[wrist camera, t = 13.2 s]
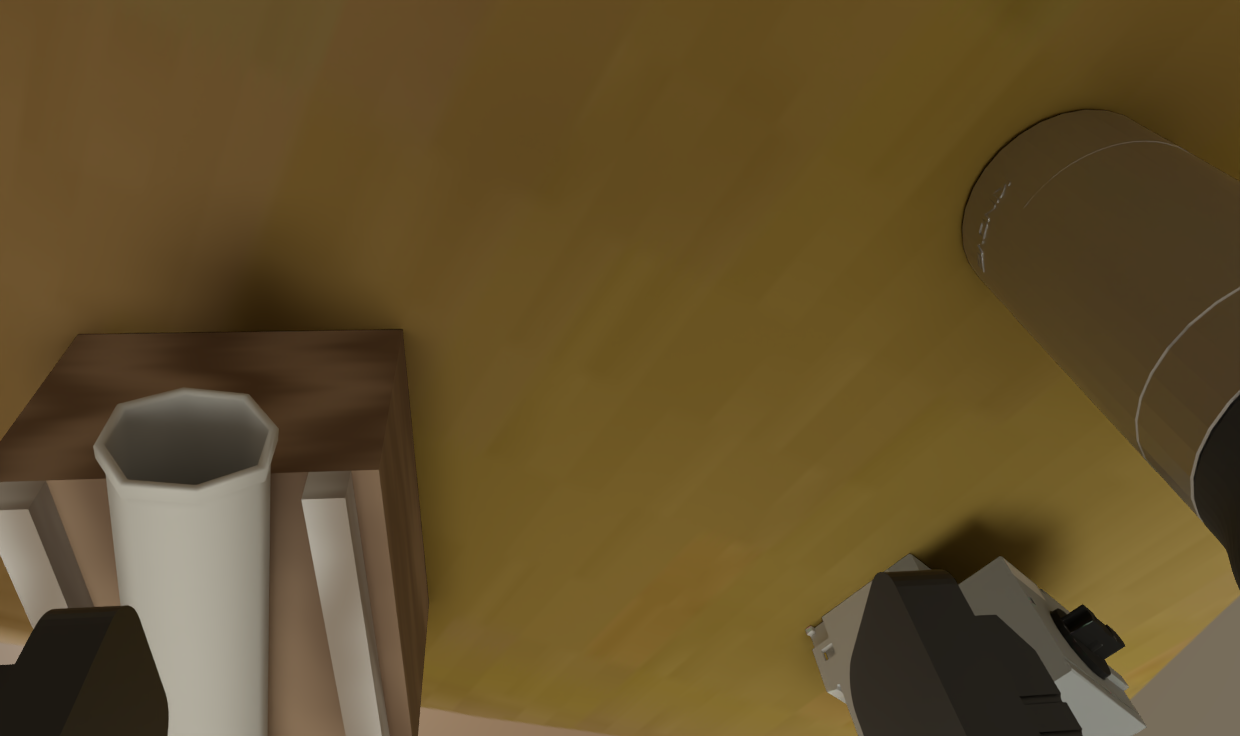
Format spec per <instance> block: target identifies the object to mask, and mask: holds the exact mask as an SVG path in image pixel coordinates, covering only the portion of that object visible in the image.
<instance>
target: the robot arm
mask: <svg viewBox="0 0 1240 736" xmlns="http://www.w3.org/2000/svg"><path fill="white" fill-rule="evenodd" d="M962 233H963V247H964V250H965V253H966V256H967V259H968V262H969V264H970V265H971V267H972V268H973V270H974V271H975V272H976V274H977V275H978V277H979V278H980V279H981V280H982V281H983V282H984V283H985V284H986V285H987V287H988V288H989V289H990V290H991V291H992V292H993V293H994V294H995V295H996V296H997V298H998V299H999V300H1000V301H1001V302H1002V303H1003V304H1004V305H1005V306H1006V307H1007V309H1008V310H1009V311H1010V312H1011V313H1012V314H1013V315H1014V317H1015V318H1016V319H1017V320H1018V321H1019V322H1020V323H1021V324H1022V326H1023V327H1024V328H1025V329H1026V330H1027V331H1028V332H1029V333H1030V334H1031V335H1032V336H1033V338H1034V339H1035V340H1036V341H1037V342H1038V343H1039V344H1040V345H1041V346H1042V347H1043V348H1044V350H1045V351H1046V352H1047V353H1048V354H1049V355H1050V356H1051V357H1052V358H1053V359H1054V360H1055V362H1056V363H1057V364H1058V365H1059V366H1060V367H1061V368H1062V369H1063V370H1064V371H1065V372H1066V374H1067V375H1068V376H1069V377H1070V378H1071V379H1072V380H1073V381H1074V382H1075V383H1076V384H1077V386H1078V387H1079V388H1080V389H1081V390H1082V391H1083V392H1084V393H1085V394H1086V395H1087V396H1088V398H1089V399H1090V400H1091V401H1092V402H1093V403H1094V404H1095V405H1096V406H1097V407H1098V408H1099V410H1100V411H1101V412H1102V413H1103V414H1104V415H1105V416H1106V417H1107V418H1108V419H1109V420H1110V422H1111V423H1112V424H1113V425H1114V426H1115V427H1116V428H1117V429H1118V430H1119V431H1120V432H1121V434H1122V435H1123V436H1124V437H1125V438H1126V439H1127V440H1128V441H1129V442H1130V443H1131V444H1132V446H1133V447H1134V448H1135V449H1136V450H1137V451H1138V452H1139V453H1140V454H1141V455H1142V456H1143V458H1144V459H1145V460H1146V461H1147V462H1148V463H1149V464H1150V465H1151V466H1152V467H1153V468H1154V470H1155V471H1156V472H1158V473H1159V474H1160V476H1161V477H1162V478H1163V479H1164V480H1165V481H1166V482H1167V483H1168V484H1169V485H1170V487H1171V488H1172V489H1173V490H1174V491H1175V492H1176V493H1177V494H1178V495H1179V496H1180V498H1181V499H1182V500H1183V501H1184V502H1185V503H1186V504H1187V505H1188V506H1189V507H1190V508H1191V510H1192V511H1193V512H1194V513H1195V514H1196V515H1197V516H1198V517H1199V518H1200V519H1201V521H1202V522H1203V523H1204V524H1205V525H1206V527H1207V528H1208V529H1209V530H1210V531H1211V532H1212V533H1213V535H1214V536H1215V537H1216V538H1217V539H1218V540H1219V541H1220V543H1221V544H1222V545H1223V546H1224V547H1225V549H1226V551H1227V553H1228V557H1229V560H1230V564H1231V568H1232V572H1233V574H1234V577H1235V580H1236V582H1237V585H1238V587H1239V590H1240V182H1239V181H1238V180H1236V179H1234V178H1233V177H1231V176H1229V175H1227V174H1226V173H1224V172H1222V171H1221V170H1219V169H1217V168H1215V167H1214V166H1212V165H1210V164H1209V163H1207V162H1205V161H1203V160H1202V159H1200V158H1198V157H1196V156H1195V155H1193V154H1191V153H1190V152H1188V151H1186V150H1184V149H1183V148H1181V147H1179V146H1178V145H1175V144H1173V143H1171V142H1170V141H1168V140H1166V139H1164V138H1163V137H1161V136H1159V135H1157V134H1156V133H1154V132H1152V131H1150V130H1149V129H1147V128H1145V127H1143V126H1142V125H1140V124H1138V123H1136V122H1135V121H1133V120H1131V119H1129V118H1128V117H1126V116H1124V115H1121V114H1117V113H1114V112H1110V111H1106V110H1080V111H1075V112H1070V113H1064V114H1061V115H1058V116H1056V117H1053V118H1050V119H1048V120H1045V121H1043V122H1040V123H1038V124H1037V125H1035V126H1033V127H1032V128H1030V129H1028V130H1027V131H1025V132H1023V133H1022V134H1020V135H1019V136H1017V137H1016V138H1015V139H1014V140H1013V141H1012V142H1010V143H1009V144H1008V145H1007V146H1006V147H1004V148H1003V149H1002V150H1001V151H1000V152H999V153H998V154H997V155H996V157H995V158H994V159H993V160H992V161H991V162H990V164H989V165H988V166H987V167H986V168H985V170H984V171H983V173H982V175H981V176H980V178H979V180H978V181H977V183H976V185H975V186H974V188H973V190H972V193H971V195H970V198H969V201H968V203H967V206H966V209H965V214H964V220H963V227H962ZM850 689H851V696H852V701H853V706H854V709H855V713H856V716H857V719H858V722H859V724H860V727H861V730H862V732H863V735H864V736H1083V735H1082V728H1081V726H1080V724H1079V723H1078V721H1077V719H1076V718H1075V716H1074V714H1073V713H1072V711H1071V709H1070V708H1069V706H1068V704H1067V702H1062V700H1061V692H1060V691H1059V689H1058V687H1057V686H1056V684H1055V682H1054V681H1053V679H1052V677H1051V676H1050V674H1049V672H1048V671H1047V669H1046V667H1045V666H1044V664H1043V662H1042V661H1041V659H1040V657H1039V655H1038V654H1037V652H1036V650H1034V649H1033V648H1032V647H1031V646H1030V645H1029V644H1028V643H1027V642H1026V641H1025V640H1023V639H1022V638H1021V637H1020V636H1019V635H1018V634H1017V633H1016V632H1015V631H1014V630H1013V629H1011V628H1010V627H1009V626H1008V625H1007V624H1006V623H1005V622H1004V621H1003V620H1002V619H1000V618H999V617H998V616H997V615H977V616H975V615H974V613H973V611H972V609H971V607H970V606H969V604H968V602H967V600H966V598H965V597H964V595H963V593H962V591H961V589H960V587H959V586H958V584H957V582H956V581H955V579H954V578H953V576H952V575H951V574H950V573H949V572H947V571H945V570H943V569H937V570H916V571H895V572H880V573H877V575H876V576H875V577H874V579H873V581H872V584H871V587H870V591H869V594H868V598H867V602H866V605H865V609H864V612H863V616H862V620H861V623H860V627H859V631H858V634H857V638H856V642H855V645H854V649H853V652H852V656H851V661H850ZM168 726H169V710H168V701H167V697H166V693H165V690H164V687H163V684H162V681H161V678H160V676H159V673H158V670H157V667H156V664H155V661H154V658H153V655H152V653H151V650H150V647H149V644H148V641H147V638H146V635H145V632H144V630H143V627H142V624H141V621H140V618H139V616H138V613H137V612H136V610H135V609H134V608H133V607H132V606H129V605H124V606H103V607H82V608H61V609H51V610H49V611H47V612H46V613H45V614H44V615H43V616H42V617H41V618H40V619H39V621H38V622H37V624H36V626H35V627H34V629H33V631H32V633H31V635H30V637H29V639H28V640H27V642H26V644H25V646H24V648H23V650H22V652H21V654H20V655H19V658H18V659H17V661H16V663H15V664H12V665H0V736H168Z"/></svg>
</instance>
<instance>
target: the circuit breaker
mask: <svg viewBox="0 0 1240 736" xmlns="http://www.w3.org/2000/svg"><path fill="white" fill-rule="evenodd" d="M916 570H931V569H930V568H929V567H927V566H926V565H925V564H923V563H922V562H921V561H919V560H918V559H917V558H915V557H914V556H913V555H912V554H908V555H907V556H905V557H904V558H902V559H901V560H900V561H898V562H897V563H896V564H894V565H893V566H891V567H890V568H889V570H888V569H887V570H886V571H885V572H895V571H916ZM872 581H873V580H872ZM872 581H871V582H869V583H868V584H867V585H865V586H864V587H863V588H861V589H860V590H859V591H857V592H856V593H854V594H853V595H852V596H850V597H849V598H848V599H846V600H845V601H843V602H842V603H841V604H839V605H838V606H837V607H835V608H834V609H832V610H831V611H830V612H828V613H827V614H826V615H824V616H823V617H822V620H823V622H822V623H821V624H819V625H818V626H817V627H815V628H814V627H812V626H809V627H808V628H806V629H805V630H806V633H807V635H809V636H810V637H811V639H812V641H813V644H814V647H815V648H814V649H812V650H813V653H814V656H815V659H816V662H817V665H818V667H819V670H820V673H821V676H822V679H823V682H824V685H825V687H826V690H827V692H828V693H830V694H831V695H833V696H834V697H836V698H838V699H839V700H841V701H843V702H844V703H846V704H847V706H848V709H849V711H850V714H851V717H852V720H853V722H854V725H855V728H856V731H857V733H858V736H864V735H863V732H862V730H861V727H860V724H859V722H858V719H857V716H856V713H855V709H854V706H853V701H852V696H851V689H850V661H851V656H852V652H853V649H854V645H855V642H856V638H857V634H858V631H859V627H860V623H861V620H862V616H863V612H864V609H865V605H866V602H867V598H868V594H869V591H870V587H871V584H872ZM958 586H959V587H960V589H961V591H962V593H963V595H964V597H965V598H966V600H967V602H968V604H969V606H970V607H971V609H972V611H973V613H974V615H975V616H977V615H997V616H998V617H999V618H1000V619H1002V620H1003V621H1004V622H1005V623H1006V624H1007V625H1008V626H1009V627H1010V628H1011V629H1013V630H1014V631H1015V632H1016V633H1017V634H1018V635H1019V636H1020V637H1021V638H1022V639H1023V640H1025V641H1026V642H1027V643H1028V644H1029V645H1030V646H1031V647H1032V648H1033V649H1034V650H1036V652H1037V654H1038V655H1039V657H1040V659H1041V661H1042V662H1043V664H1044V666H1045V667H1046V669H1047V671H1048V672H1049V674H1050V676H1051V677H1052V679H1053V681H1054V682H1055V684H1056V686H1057V687H1058V689H1059V691H1060V692H1061V700H1062V702H1067V704H1068V706H1069V708H1070V709H1071V711H1072V713H1073V714H1074V716H1075V718H1076V719H1077V721H1078V723H1079V724H1080V726H1081V728H1082V735H1083V736H1133V735H1134V734H1136V733H1138V732H1139V731H1141V730H1142V729H1144V728H1146V725H1145V723H1144V722H1143V720H1142V718H1141V716H1140V715H1139V713H1138V712H1137V710H1136V709H1135V707H1134V706H1133V705H1132V703H1131V701H1130V700H1129V698H1128V697H1127V695H1126V694H1125V692H1124V690H1126V689H1127V688H1129V687H1128V685H1127V684H1126V682H1125V681H1124V679H1123V678H1122V676H1121V675H1119V674H1118V673H1117V672H1116V671H1114V670H1113V669H1112V668H1111V667H1109V666H1108V665H1107V663H1106V661H1105V660H1104V659H1106V658H1107V657H1109V656H1110V655H1112V654H1114V653H1115V652H1117V651H1118V650H1120V649H1122V648H1123V647H1125V644H1124V643H1123V641H1122V640H1121V638H1120V637H1119V636H1118V635H1117V634H1116V632H1115V631H1114V630H1113V629H1111V628H1110V627H1109V626H1108V625H1104V624H1103V623H1102V622H1101V621H1100V620H1098V619H1097V618H1096V617H1095V615H1094V614H1093V613H1092V612H1091V611H1090V610H1089V609H1088V608H1086V607H1085V606H1084V605H1081V606H1079V607H1078V608H1076V609H1075V610H1073V611H1072V612H1069V611H1068V610H1066V609H1065V608H1064V607H1063V606H1062V605H1060V604H1059V603H1058V602H1057V601H1055V600H1054V599H1053V598H1052V597H1051V596H1049V595H1048V594H1047V593H1046V592H1044V591H1043V590H1042V589H1039V588H1038V587H1037V585H1036V584H1035V583H1034V582H1032V581H1031V580H1030V579H1029V578H1028V577H1026V576H1025V575H1024V574H1023V573H1021V572H1020V571H1019V570H1018V569H1017V568H1015V567H1014V566H1013V565H1012V564H1010V563H1009V562H1008V561H1007V560H1006V559H1004V558H1003V557H1001V556H999V557H998V558H997V559H995V560H994V561H992V562H991V563H989V564H988V565H986V566H985V567H983V568H982V569H980V570H979V571H978V572H976V573H975V574H973V575H972V576H970V577H969V578H967V579H966V580H964V581H963V582H962V583H960V584H959V585H958ZM825 652H826V654H827V656H828V660H827V661H826V658H825V655H824V653H825Z"/></svg>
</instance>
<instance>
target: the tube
mask: <svg viewBox="0 0 1240 736" xmlns="http://www.w3.org/2000/svg"><path fill="white" fill-rule="evenodd" d="M278 434H279V428H278V427H277V426H276V425H275V424H274V423H273V421H272V420H271V419H270V418H269V417H268V416H267V414H266V413H265V412H264V411H263V410H262V409H261V408H260V406H259V405H258V404H257V403H256V402H255V401H254V399H253V398H252V397H251V396H250V395H249V394H244V393H234V392H224V391H215V390H205V389H195V388H185V387H183V388H179V389H175V390H171V391H167V392H163V393H159V394H155V395H151V396H147V397H143V398H140V399H136V400H132V401H128V402H124V403H120V404H117V405H116V407H115V409H114V410H113V412H112V414H111V416H110V418H109V419H108V421H107V423H106V425H105V426H104V428H103V430H102V432H101V433H100V435H99V437H98V439H97V440H96V442H95V444H94V446H93V448H94V454H95V458H96V460H97V462H98V463H99V465H100V466H101V468H102V469H103V471H104V472H105V474H106V482H107V491H108V500H109V509H110V517H111V526H112V535H113V544H114V553H115V562H116V570H117V579H118V588H119V597H120V606H124V605H129V606H132V607H133V608H134V609H135V610H136V612H137V613H138V616H139V618H140V621H141V624H142V627H143V630H144V632H145V635H146V638H147V641H148V644H149V647H150V650H151V653H152V655H153V658H154V661H155V664H156V667H157V670H158V673H159V676H160V678H161V681H162V684H163V687H164V690H165V693H166V697H167V701H168V710H169V726H168V736H268V649H269V561H270V474H271V461H272V458H273V455H274V452H275V448H276V445H277V442H278Z"/></svg>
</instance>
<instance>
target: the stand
mask: <svg viewBox="0 0 1240 736" xmlns="http://www.w3.org/2000/svg"><path fill="white" fill-rule="evenodd" d="M183 387H185V388H195V389H205V390H215V391H224V392H234V393H244V394H249V395H250V396H251V397H252V398H253V399H254V401H255V402H256V403H257V404H258V405H259V406H260V408H261V409H262V410H263V411H264V412H265V413H266V414H267V416H268V417H269V418H270V419H271V420H272V421H273V423H274V424H275V425H276V426H277V427H278V428H279V434H278V442H277V445H276V448H275V452H274V455H273V458H272V461H271V474H270V561H269V649H268V736H418V727H419V716H420V704H421V692H422V680H423V668H424V656H425V644H426V632H427V621H428V609H429V599H428V588H427V578H426V568H425V557H424V547H423V537H422V526H421V516H420V506H419V495H418V485H417V474H416V464H415V454H414V443H413V433H412V423H411V412H410V402H409V392H408V381H407V371H406V361H405V350H404V340H403V330H341V331H277V332H212V333H148V334H83V335H77V336H76V338H75V339H74V341H73V342H72V343H71V345H70V346H69V347H68V349H67V350H66V352H65V353H64V354H63V356H62V357H61V359H60V360H59V361H58V363H57V364H56V365H55V367H54V368H53V370H52V371H51V372H50V374H49V375H48V376H47V378H46V379H45V381H44V382H43V383H42V385H41V386H40V387H39V389H38V390H37V392H36V393H35V394H34V396H33V397H32V398H31V400H30V401H29V403H28V404H27V405H26V407H25V408H24V410H23V411H22V412H21V414H20V415H19V416H18V418H17V419H16V421H15V422H14V423H13V425H12V426H11V427H10V429H9V430H8V432H7V433H6V434H5V436H4V437H3V438H2V440H1V441H0V555H1V557H2V560H3V562H4V564H5V566H6V569H7V571H8V573H9V576H10V578H11V580H12V582H13V585H14V587H15V589H16V591H17V594H18V596H19V598H20V600H21V603H22V605H23V607H24V609H25V612H26V614H27V616H28V618H29V621H30V623H31V625H32V627H33V629H34V627H35V626H36V624H37V622H38V621H39V619H40V618H41V617H42V616H43V615H44V614H45V613H46V612H47V611H49V610H51V609H61V608H82V607H103V606H120V597H119V588H118V579H117V570H116V562H115V553H114V544H113V535H112V526H111V517H110V509H109V500H108V491H107V482H106V474H105V472H104V471H103V469H102V468H101V466H100V465H99V463H98V462H97V460H96V458H95V454H94V448H93V446H94V444H95V442H96V440H97V439H98V437H99V435H100V433H101V432H102V430H103V428H104V426H105V425H106V423H107V421H108V419H109V418H110V416H111V414H112V412H113V410H114V409H115V407H116V405H117V404H120V403H124V402H128V401H132V400H136V399H140V398H143V397H147V396H151V395H155V394H159V393H163V392H167V391H171V390H175V389H179V388H183Z"/></svg>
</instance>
